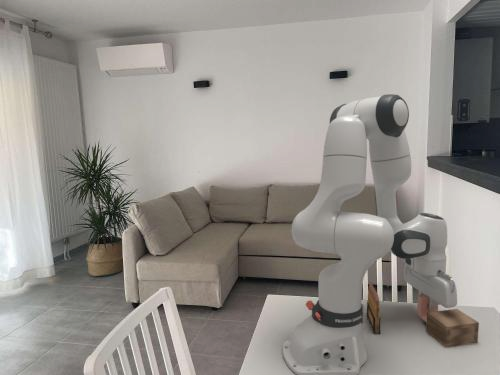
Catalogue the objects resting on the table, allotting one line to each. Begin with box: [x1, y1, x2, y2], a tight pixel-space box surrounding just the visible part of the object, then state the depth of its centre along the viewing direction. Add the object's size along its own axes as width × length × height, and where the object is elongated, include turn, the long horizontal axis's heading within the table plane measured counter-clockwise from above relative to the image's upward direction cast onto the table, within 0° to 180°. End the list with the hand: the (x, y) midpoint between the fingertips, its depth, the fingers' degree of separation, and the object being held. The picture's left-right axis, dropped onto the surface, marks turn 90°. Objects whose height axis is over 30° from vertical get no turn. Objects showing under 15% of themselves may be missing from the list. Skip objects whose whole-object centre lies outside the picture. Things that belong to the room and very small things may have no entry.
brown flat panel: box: [366, 281, 382, 335], centre depth 107 cm, size 11×2×12 cm, turn 173°
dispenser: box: [425, 308, 480, 348], centre depth 99 cm, size 10×8×6 cm
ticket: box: [416, 294, 439, 323], centre depth 103 cm, size 6×14×7 cm, turn 10°
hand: (427, 307), depth 109 cm, fingers closed on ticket, 2 cm apart
